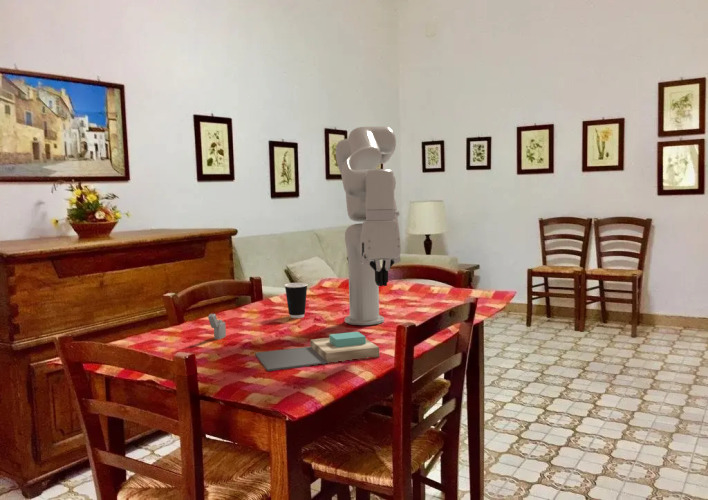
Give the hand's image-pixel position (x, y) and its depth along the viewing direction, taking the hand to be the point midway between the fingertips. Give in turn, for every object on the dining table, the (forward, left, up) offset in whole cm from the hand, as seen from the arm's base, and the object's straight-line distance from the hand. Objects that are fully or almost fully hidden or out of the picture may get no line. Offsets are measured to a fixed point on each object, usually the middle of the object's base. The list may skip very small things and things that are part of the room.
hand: (381, 285), depth 163 cm
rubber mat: (0, -25, -17) cm, 31 cm away
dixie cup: (-50, -11, -17) cm, 54 cm away
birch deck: (0, -11, -17) cm, 20 cm away
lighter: (-30, -40, -17) cm, 53 cm away
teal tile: (0, -10, -15) cm, 18 cm away
